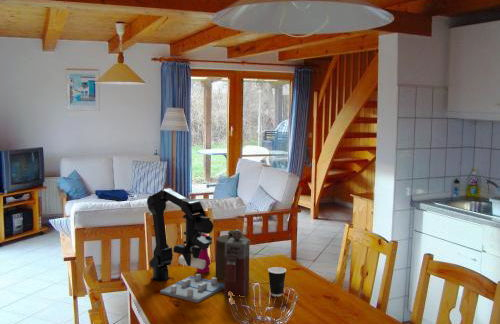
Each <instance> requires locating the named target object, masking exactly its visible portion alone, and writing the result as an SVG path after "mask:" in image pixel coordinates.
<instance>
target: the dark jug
mask: <svg viewBox="0 0 500 324" xmlns="http://www.w3.org/2000/svg"><path fill="white" fill-rule="evenodd" d="M233 231H234V232H233V233H232V237H233V238H230V239H229V240H228V241H227V242H226V243H225V280H224V284H225V288H224V289H223V290H224V293H223V294H224V297H228V296H227V295H228V292H229V291H231V292H232V293H233V295H235V296H239V295H240V296H245V295H246V294H248V293H249V291H250V288H249V287H250V241H251V240H250V239H249V238H247V239H242V236H243V235H244V234H243V231H242V230H241V229H237V228H236V229H235V230H233ZM243 237H244V236H243ZM248 290H249V291H248ZM247 292H248V293H247ZM246 296H247V295H246ZM246 296H245V297H246Z"/></svg>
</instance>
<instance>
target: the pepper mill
mask: <svg viewBox="0 0 500 324" xmlns="http://www.w3.org/2000/svg"><path fill="white" fill-rule="evenodd" d="M201 233H202V232H201ZM202 236H203V237H204V236H205V237H206V236H209V235H208V234H206V233H202ZM198 259H202V260H205V261H206V266H205V268H204V269H199V268H196V272H197V273H199V272H200V273H199V274H207V273H209V272H210V268H211V267H210V265H211V258H210V256H209V253H208V248H206V249H205V250H202V251H201V252H200V254H199V257H198ZM206 272H207V273H206Z"/></svg>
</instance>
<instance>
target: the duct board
mask: <svg viewBox="0 0 500 324" xmlns="http://www.w3.org/2000/svg"><path fill="white" fill-rule="evenodd" d="M194 275H195V276H193V275H189V276H188V277H186V278H184V279H182V280H180V281H177V282H176V283H174V284H172V285H169V286H167V287H165V288H163V289H160V290H159V292H160V293H159V294H162V295H166V296H170V297H174V298H178V299H182V300H186V301H189V302H192V303H197V304H198V303H201V302H202V301H204V300H205V299H208V298H209V297H212V296H213V295H214V294H217V293H219V292H220V291H223V290H224V289H225V282H218V278H217V277H216V276H215V277H211V279H205V278H202V273H196V274H194Z"/></svg>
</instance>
